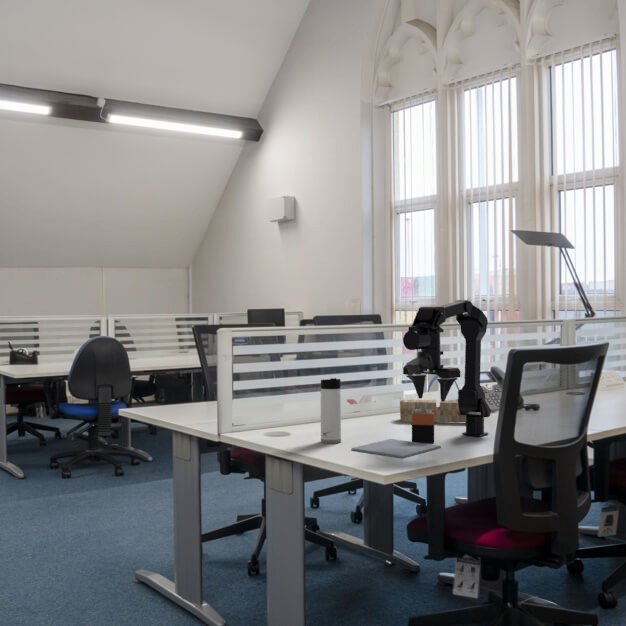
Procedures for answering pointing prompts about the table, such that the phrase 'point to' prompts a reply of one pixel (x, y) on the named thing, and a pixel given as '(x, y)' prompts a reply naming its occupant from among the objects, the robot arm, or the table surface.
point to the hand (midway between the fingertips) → (431, 399)
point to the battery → (423, 426)
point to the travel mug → (331, 411)
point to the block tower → (432, 410)
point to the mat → (396, 448)
